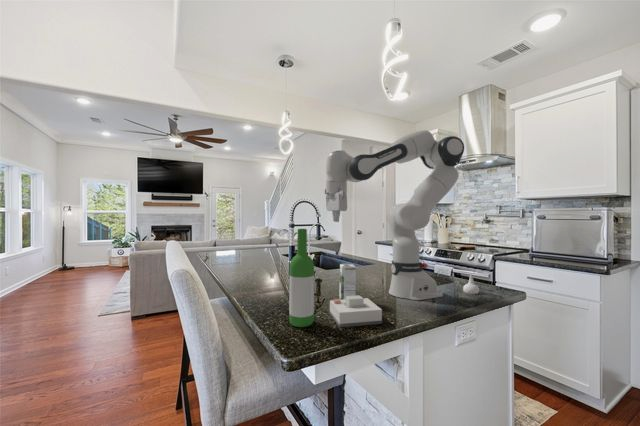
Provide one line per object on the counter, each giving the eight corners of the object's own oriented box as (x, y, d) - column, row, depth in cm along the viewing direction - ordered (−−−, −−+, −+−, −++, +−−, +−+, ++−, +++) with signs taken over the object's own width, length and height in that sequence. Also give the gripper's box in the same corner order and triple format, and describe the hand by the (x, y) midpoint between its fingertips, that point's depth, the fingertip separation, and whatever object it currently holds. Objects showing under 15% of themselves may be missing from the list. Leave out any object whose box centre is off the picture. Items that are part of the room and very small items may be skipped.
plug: (359, 312, 97) (359, 295, 97) (363, 316, 93) (363, 298, 93) (345, 313, 96) (345, 296, 96) (348, 317, 92) (349, 299, 92)
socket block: (367, 310, 102) (367, 295, 102) (381, 323, 90) (381, 307, 90) (329, 313, 99) (329, 298, 99) (339, 327, 87) (339, 310, 87)
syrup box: (338, 299, 115) (339, 263, 114) (353, 299, 115) (353, 263, 115) (341, 304, 109) (341, 266, 109) (356, 303, 109) (356, 266, 109)
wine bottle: (313, 318, 94) (314, 228, 94) (313, 328, 86) (314, 229, 86) (290, 318, 94) (290, 228, 94) (288, 328, 86) (288, 229, 86)
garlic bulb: (479, 296, 122) (481, 278, 122) (463, 293, 125) (465, 275, 125) (478, 292, 128) (480, 275, 128) (462, 289, 131) (464, 272, 130)
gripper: (351, 187, 111) (351, 222, 111) (337, 191, 131) (336, 220, 131) (335, 187, 110) (335, 222, 110) (323, 190, 130) (323, 220, 130)
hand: (336, 221), depth 121 cm, fingers closed
